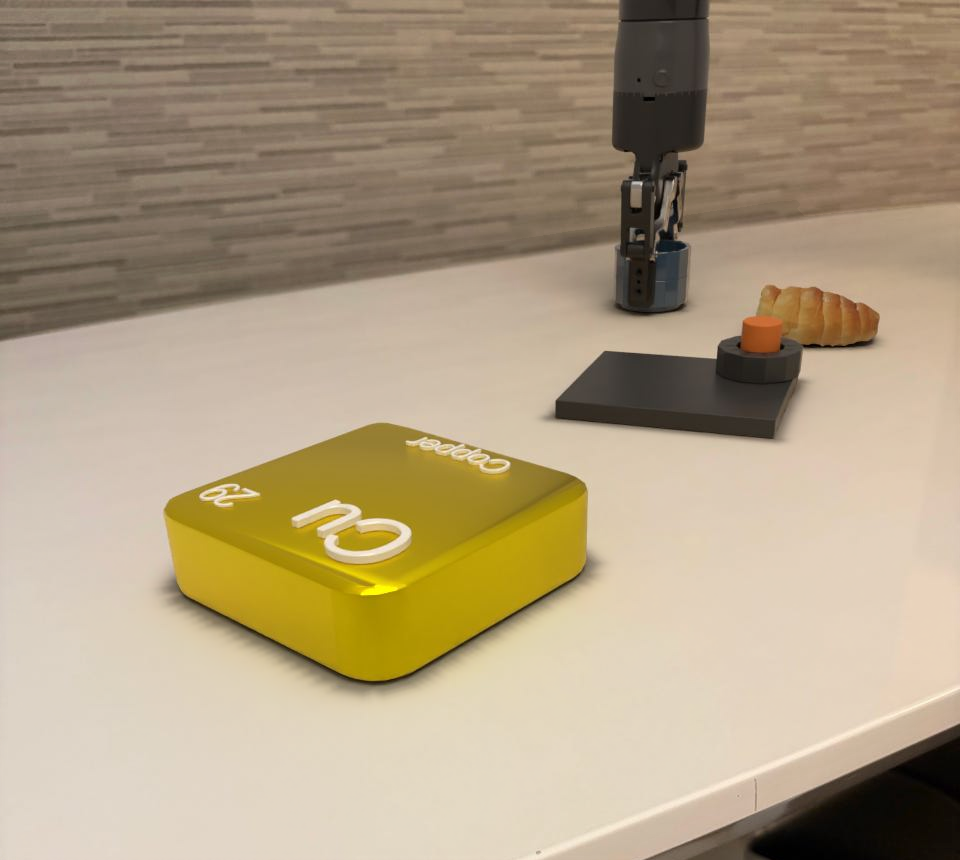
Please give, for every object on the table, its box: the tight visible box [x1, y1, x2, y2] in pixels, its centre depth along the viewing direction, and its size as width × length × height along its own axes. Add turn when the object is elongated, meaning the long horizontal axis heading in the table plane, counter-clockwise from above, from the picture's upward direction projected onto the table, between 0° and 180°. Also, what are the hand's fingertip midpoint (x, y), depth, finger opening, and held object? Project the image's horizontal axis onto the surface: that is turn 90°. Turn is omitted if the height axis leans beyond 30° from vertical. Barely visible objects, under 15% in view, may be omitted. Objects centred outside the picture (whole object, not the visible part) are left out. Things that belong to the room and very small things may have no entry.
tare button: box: [740, 315, 783, 353], centre depth 73 cm, size 3×3×2 cm
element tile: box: [162, 422, 589, 682], centre depth 50 cm, size 15×15×5 cm
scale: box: [554, 335, 804, 439], centre depth 72 cm, size 14×12×3 cm
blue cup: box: [613, 238, 692, 313], centre depth 94 cm, size 6×6×5 cm
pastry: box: [755, 284, 881, 348], centre depth 84 cm, size 9×7×4 cm
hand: (650, 296), depth 95 cm, fingers closed on blue cup, 6 cm apart
